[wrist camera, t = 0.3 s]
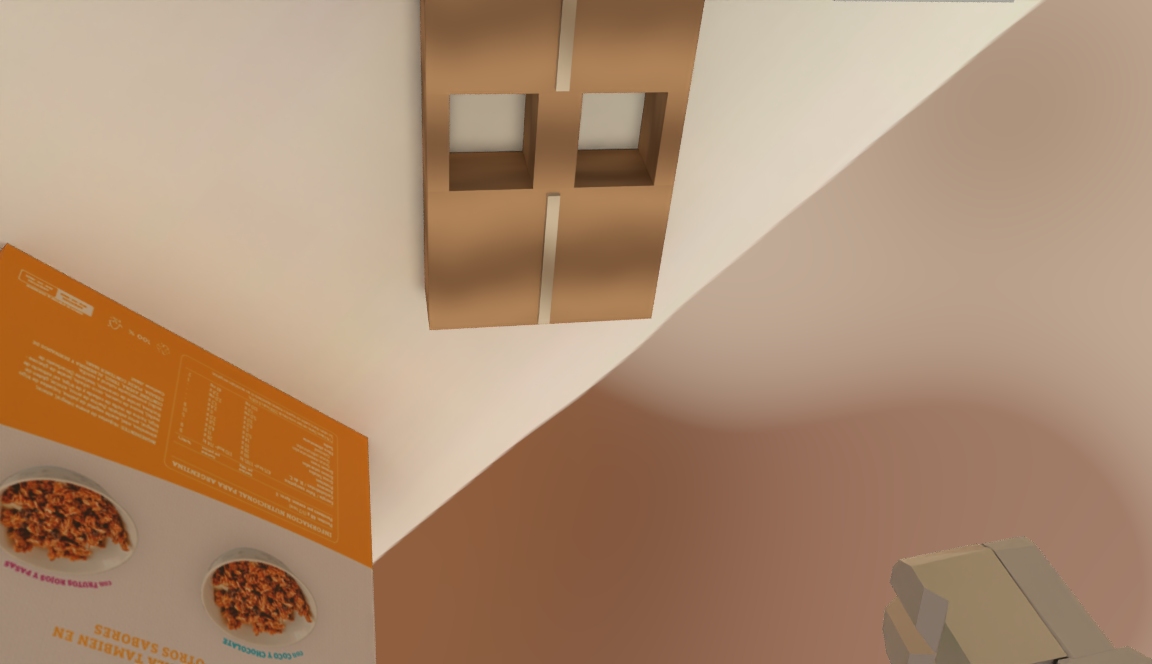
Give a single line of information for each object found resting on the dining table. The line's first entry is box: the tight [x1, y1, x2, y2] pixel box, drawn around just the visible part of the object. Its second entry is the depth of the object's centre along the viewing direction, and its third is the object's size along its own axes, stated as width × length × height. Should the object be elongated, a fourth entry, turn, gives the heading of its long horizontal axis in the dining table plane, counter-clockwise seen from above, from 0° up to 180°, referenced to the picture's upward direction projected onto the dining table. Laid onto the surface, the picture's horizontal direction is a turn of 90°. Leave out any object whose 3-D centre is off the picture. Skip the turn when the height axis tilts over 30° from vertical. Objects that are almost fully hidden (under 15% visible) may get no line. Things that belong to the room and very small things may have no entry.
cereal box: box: [0, 243, 376, 664], centre depth 46 cm, size 22×6×30 cm, turn 42°
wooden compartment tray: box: [420, 0, 705, 330], centre depth 48 cm, size 22×12×4 cm, turn 175°
